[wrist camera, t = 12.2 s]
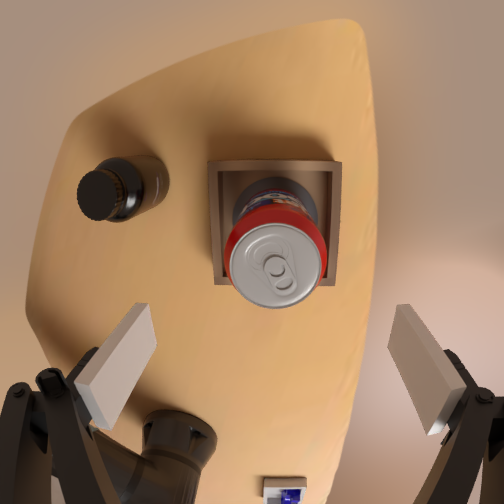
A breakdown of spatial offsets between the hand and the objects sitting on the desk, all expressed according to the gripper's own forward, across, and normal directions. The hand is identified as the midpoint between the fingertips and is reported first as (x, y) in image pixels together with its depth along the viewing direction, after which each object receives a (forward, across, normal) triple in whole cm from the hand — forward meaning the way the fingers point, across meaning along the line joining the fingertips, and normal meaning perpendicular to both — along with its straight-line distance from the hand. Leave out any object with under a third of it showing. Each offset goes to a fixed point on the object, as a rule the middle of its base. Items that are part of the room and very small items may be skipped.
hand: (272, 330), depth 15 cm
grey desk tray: (+23, +4, -67) cm, 71 cm away
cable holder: (+22, +5, -69) cm, 73 cm away
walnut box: (+23, 0, +1) cm, 23 cm away
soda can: (+22, 0, +1) cm, 22 cm away
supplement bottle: (+23, -16, +6) cm, 28 cm away
